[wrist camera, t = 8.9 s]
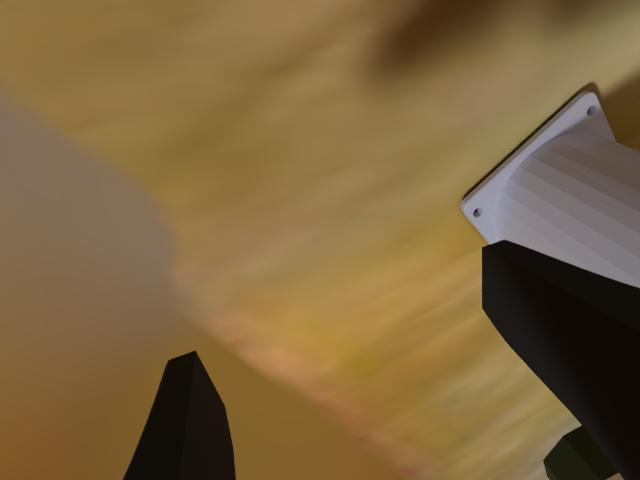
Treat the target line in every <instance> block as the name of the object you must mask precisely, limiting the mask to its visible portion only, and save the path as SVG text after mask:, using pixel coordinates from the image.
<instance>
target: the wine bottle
mask: <svg viewBox="0 0 640 480" xmlns="http://www.w3.org/2000/svg"><path fill="white" fill-rule="evenodd" d="M544 465H545V469H546V473H547V476H548V478H549V479H550V480H624V479H623V478H622V476H621V475H620V473H619V472H618V471H617V469H616V468H615V467H614V465H613V464H612V463H611V461H610V460H609V459H608V458H607V456H606V455H605V454H604V452H603V451H602V450H601V448H600V447H599V446H598V445H597V443H596V442H595V441H594V439H593V438H592V437H591V435H590V434H589V433H588V432H587V430H586V429H585V428H584V427H583V426H581V427H579V428H577V429H576V430H574V431H572V432H570V433H568V434H567V435H565V436H563V437H562V439H561V440H560V441H559V442H558V443H557V445H556V446H555V447H554V448H553V450H552V451H551V452H550V453H549V454H548V456H547V457H546V458H545V459H544Z"/></svg>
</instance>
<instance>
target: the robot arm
mask: <svg viewBox="0 0 640 480" xmlns="http://www.w3.org/2000/svg"><path fill="white" fill-rule="evenodd" d="M589 107H590V109H589V111H588V112H587V110H588V108H589ZM477 208H478V210H477V211H476V213H474V211H475V210H476V209H477ZM461 210H462V212H463V213H464V214H465V215H466V217H467V218H468V219H469V220H470V222H471V223H472V224H473V225H474V226H475V228H476V229H477V230H478V231H479V233H480V234H481V235H482V236H483V237H484V239H485V240H486V241H487V242H488V243H489V245H487V246H485V247H482V309H483V310H484V312H485V313H486V314H487V316H488V317H489V319H490V320H491V322H492V323H493V325H494V326H495V328H496V329H497V330H498V332H499V333H500V334H501V336H502V337H503V338H504V340H505V341H506V342H507V343H508V345H509V346H510V347H511V348H512V349H513V350H514V351H515V352H516V353H517V354H518V356H519V357H520V358H521V359H522V360H523V361H524V362H525V363H526V364H527V365H528V367H529V368H530V369H531V370H532V371H533V372H534V373H535V374H536V375H537V376H538V377H539V378H540V379H541V380H542V382H543V383H544V384H545V385H546V386H547V387H548V388H549V389H550V390H551V391H552V392H553V393H554V394H555V396H556V397H557V398H558V399H559V400H560V401H561V402H562V403H563V404H564V405H565V406H566V407H567V408H568V410H569V411H570V412H571V413H572V414H573V415H574V416H575V417H576V419H577V420H578V421H579V422H580V423H581V424H582V426H583V427H584V428H585V429H586V430H587V432H588V433H589V434H590V435H591V437H592V438H593V439H594V441H595V442H596V443H597V445H598V446H599V447H600V448H601V450H602V451H603V452H604V454H605V455H606V456H607V458H608V459H609V460H610V461H611V463H612V464H613V465H614V467H615V468H616V469H617V471H618V472H619V473H620V475H621V476H622V478H623V479H624V480H640V151H637V150H635V149H632V148H630V147H627V146H624V145H622V144H619V143H617V142H616V140H615V137H614V135H613V133H612V130H611V128H610V126H609V123H608V121H607V119H606V117H605V114H604V112H603V110H602V107H601V105H600V103H599V100H598V98H597V96H596V94H595V93H593V92H590V91H583V92H581V93H580V94H578V95H577V96H576V97H575V98H574V99H573V100H572V101H571V102H570V103H569V104H567V105H566V106H565V107H564V108H563V109H562V110H561V111H560V112H559V113H558V114H556V115H555V116H554V117H553V118H552V119H551V120H550V121H549V122H548V123H547V124H545V125H544V126H543V127H542V128H541V129H540V130H539V131H538V132H537V133H536V134H535V135H533V136H532V137H531V138H530V139H529V140H528V141H527V142H526V143H525V144H524V145H522V146H521V147H520V148H519V149H518V150H517V151H516V152H515V153H514V154H513V155H511V156H510V157H509V158H508V159H507V160H506V161H505V162H504V163H503V164H502V165H500V166H499V167H498V168H497V169H496V170H495V171H494V172H493V173H492V174H491V175H489V176H488V177H487V178H486V179H485V180H484V181H483V182H482V183H481V184H480V185H478V186H477V187H476V188H475V189H474V190H473V191H472V192H471V193H470V194H469V195H467V196H466V197H465V198H464V199H463V201H462V203H461ZM473 213H474V214H473ZM123 480H236V477H235V465H234V453H233V445H232V440H231V434H230V429H229V425H228V419H227V414H226V409H225V406H224V404H223V402H222V400H221V398H220V396H219V394H218V392H217V391H216V389H215V386H214V385H213V383H212V381H211V379H210V377H209V375H208V373H207V371H206V370H205V368H204V366H203V364H202V362H201V360H200V358H199V357H198V354H197V353H196V351H193V352H190V353H187V354H185V355H182V356H179V357H176V358H174V359H171V360H169V361H168V363H167V365H166V367H165V370H164V373H163V376H162V379H161V382H160V385H159V389H158V391H157V394H156V397H155V400H154V403H153V406H152V408H151V411H150V414H149V417H148V419H147V422H146V425H145V427H144V430H143V432H142V435H141V437H140V440H139V443H138V445H137V448H136V450H135V453H134V455H133V458H132V460H131V463H130V465H129V467H128V469H127V472H126V474H125V476H124V478H123Z"/></svg>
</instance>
